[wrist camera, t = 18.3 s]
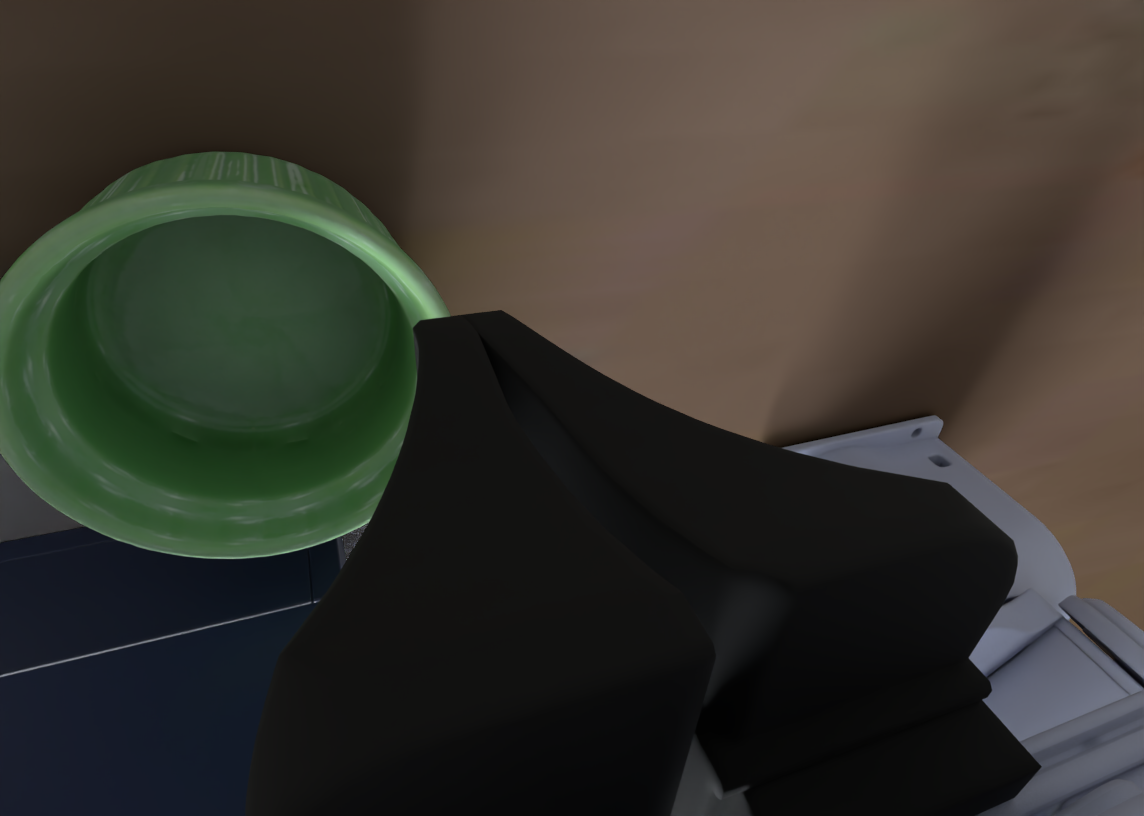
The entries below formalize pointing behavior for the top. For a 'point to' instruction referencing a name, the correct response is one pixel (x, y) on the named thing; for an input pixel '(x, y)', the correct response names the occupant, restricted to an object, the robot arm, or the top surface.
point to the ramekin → (212, 358)
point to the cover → (142, 724)
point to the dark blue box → (137, 593)
